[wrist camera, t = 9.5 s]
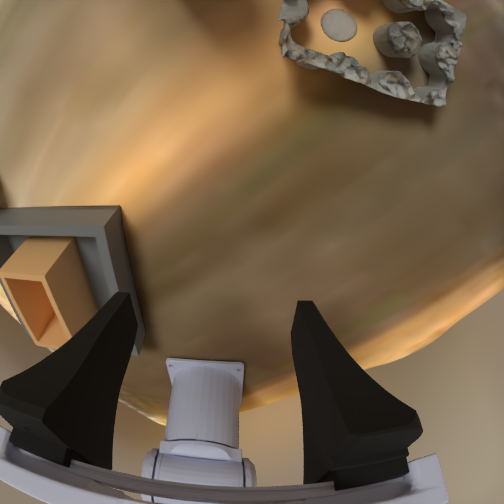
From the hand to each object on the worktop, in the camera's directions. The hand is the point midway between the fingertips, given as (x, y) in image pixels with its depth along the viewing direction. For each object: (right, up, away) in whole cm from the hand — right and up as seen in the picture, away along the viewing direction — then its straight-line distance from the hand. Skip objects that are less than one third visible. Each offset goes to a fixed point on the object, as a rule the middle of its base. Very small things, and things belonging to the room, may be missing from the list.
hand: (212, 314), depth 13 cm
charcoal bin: (-14, +1, +10) cm, 18 cm away
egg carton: (+9, +16, +1) cm, 18 cm away
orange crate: (-14, +1, +10) cm, 18 cm away
